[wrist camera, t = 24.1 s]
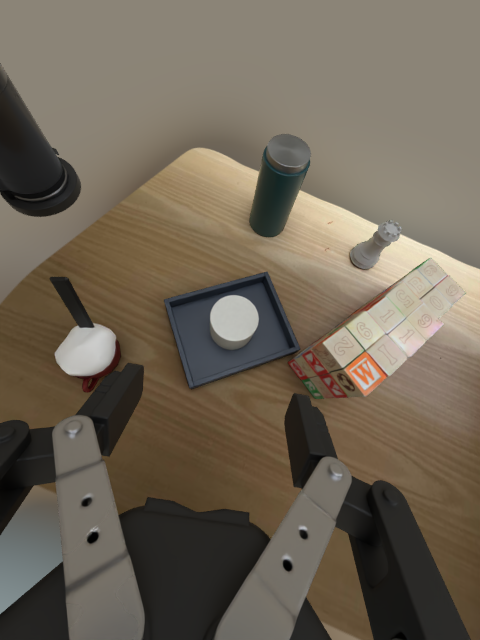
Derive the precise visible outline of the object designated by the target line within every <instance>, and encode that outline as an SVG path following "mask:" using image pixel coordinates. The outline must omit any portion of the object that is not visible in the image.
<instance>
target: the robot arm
mask: <svg viewBox="0 0 480 640" xmlns="http://www.w3.org/2000/svg"><path fill="white" fill-rule="evenodd" d="M56 154H57V155H59V154H58V152H57V150H56V149H54V148H52V147H51V146H50V144H49V143H48V141H47V139H46V138H45V136H44V134H43V133H42V131H41V129H40V128H39V126H38V124H37V123H36V121H35V119H34V118H33V116H32V115H31V113H30V111H29V110H28V108H27V106H26V105H25V103H24V101H23V100H22V98H21V96H20V95H19V93H18V91H17V90H16V88H15V87H14V85H13V83H12V81H11V80H10V78H9V77H8V75H7V73H6V72H5V70H4V68H3V67H2V65H1V63H0V190H1V191H2V192H3V193H4V194H5V195H6V196H7V197H8V198H9V199H10V200H14V199H18V200H20V201H23V202H27V203H41V202H46V201H49V200H52V199H54V198H56V197H57V196H59V195H60V194H61V193H62V192H63V191H64V190H65V188H66V187H67V184H68V180H69V178H68V173H67V171H66V170H65V168H64V166H63V165H62V164H61V162H60V160H59V159H58V157H57V156H56ZM143 375H144V366H143V365H138V364H132V363H128V364H127V365H126V366H125V367H124V369H123V370H122V371H121V372H119V371H114V372H112V373H111V374H109V375H108V376H106V377H105V378H104V380H103V381H102V382H101V383H100V385H99V386H98V387H97V388H96V390H95V392H93V393H92V395H91V396H90V397H89V398H88V400H87V401H86V402H85V404H84V405H83V406H82V407H81V409H80V410H79V411H78V412H77V414H76V415H75V416H71V417H68V418H66V419H64V420H62V421H61V422H59V423H58V424H57V425H56V426H54V427H48V428H38V429H29V426H28V424H27V423H26V422H24V421H20V420H11V421H6V422H3V423H0V535H1V533H2V532H3V530H4V529H5V527H6V526H7V524H8V523H9V521H10V520H11V518H12V517H13V515H14V514H15V513H16V511H17V510H18V508H19V507H20V505H21V504H22V502H23V501H24V499H25V497H26V496H27V495H28V493H29V492H30V490H31V489H32V487H33V486H34V485H40V484H46V483H52V482H56V490H57V501H58V511H59V522H60V533H61V544H62V555H63V562H62V563H60V564H59V565H58V566H57V567H56V568H54V569H53V570H52V571H51V572H50V573H49V574H47V575H46V576H45V577H44V578H43V579H42V580H40V581H39V582H38V583H37V584H36V585H34V586H33V587H32V588H31V589H30V590H28V591H27V592H26V593H25V594H24V595H22V596H21V597H20V598H19V599H18V600H17V601H16V602H14V603H13V604H12V605H11V606H10V607H8V608H7V609H6V610H5V611H4V612H2V613H1V614H0V640H332V639H331V638H330V636H329V634H328V633H327V631H326V630H325V628H324V626H323V625H322V623H321V621H320V620H319V618H318V616H317V615H316V613H315V611H314V610H313V608H312V606H311V605H310V603H309V601H308V600H307V598H306V595H307V592H308V590H309V588H310V585H311V583H312V580H313V578H314V576H315V573H316V571H317V568H318V566H319V564H320V561H321V559H322V556H323V554H324V552H325V549H326V547H327V544H328V542H329V540H330V537H331V535H332V532H333V530H334V528H335V527H337V528H339V529H341V530H343V531H345V532H347V533H348V535H349V539H350V543H351V547H352V551H353V556H354V560H355V564H356V568H357V572H358V576H359V580H360V584H361V588H362V593H363V597H364V601H365V605H366V609H367V613H368V617H369V621H370V626H371V630H372V634H373V638H374V640H471V639H470V637H469V635H468V633H467V631H466V628H465V626H464V624H463V622H462V620H461V618H460V615H459V613H458V611H457V609H456V607H455V605H454V602H453V600H452V598H451V596H450V594H449V592H448V589H447V587H446V585H445V583H444V581H443V579H442V576H441V574H440V572H439V570H438V568H437V566H436V564H435V561H434V559H433V557H432V555H431V553H430V551H429V548H428V546H427V544H426V542H425V540H424V538H423V535H422V533H421V531H420V529H419V527H418V525H417V522H416V520H415V518H414V516H413V514H412V512H411V509H410V507H409V505H408V503H407V501H406V499H405V497H404V496H403V495H402V493H401V492H400V491H399V490H398V489H397V488H396V487H394V486H393V485H391V484H390V483H388V482H385V481H381V480H380V481H376V482H374V483H373V485H372V486H371V485H369V484H367V483H365V482H363V481H361V480H358V479H356V478H355V477H353V476H351V474H350V471H349V470H348V468H347V467H346V466H345V465H344V464H343V463H342V462H341V461H339V460H338V458H337V455H336V452H335V449H334V446H333V443H332V440H331V437H330V434H329V433H328V428H327V426H326V422H325V419H324V416H323V414H322V413H321V412H320V410H319V409H318V408H317V407H313V406H312V405H311V401H310V398H309V396H307V395H302V394H296V393H294V394H293V396H292V398H291V401H290V404H289V406H288V409H287V412H286V415H285V422H284V424H285V432H286V439H287V445H288V452H289V458H290V465H291V472H292V478H293V485H294V487H298V488H302V491H300V493H299V494H298V496H297V498H296V499H295V501H294V502H293V504H292V506H291V507H290V509H289V511H288V512H287V514H286V516H285V517H284V519H283V520H282V522H281V524H280V525H279V527H278V529H277V530H276V532H275V533H274V535H273V537H272V538H271V539H270V538H269V537H268V536H267V535H266V534H265V532H264V531H262V530H261V529H260V528H259V527H257V526H256V525H254V524H253V523H251V522H249V513H248V512H242V511H235V510H229V509H220V510H213V511H206V512H195V511H193V510H191V509H189V508H187V507H185V506H182V505H180V504H178V503H176V502H174V501H169V500H163V499H156V498H150V497H148V498H147V500H146V503H145V506H141V507H137V508H133V509H130V510H128V511H126V512H124V513H122V514H120V515H118V512H117V508H116V504H115V500H114V496H113V492H112V488H111V484H110V480H109V476H108V472H107V468H106V465H105V461H104V460H102V457H101V455H103V456H110V454H111V453H112V451H113V449H114V447H115V445H116V443H117V441H118V440H119V438H120V436H121V434H122V432H123V430H124V428H125V426H126V425H127V423H128V421H129V419H130V417H131V415H132V413H133V412H134V410H135V408H136V406H137V404H138V402H139V400H140V398H141V395H142V391H143Z"/></svg>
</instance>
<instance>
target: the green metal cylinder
mask: <svg viewBox="0 0 480 640" xmlns="http://www.w3.org/2000/svg"><path fill="white" fill-rule="evenodd" d="M310 156H311V152H310V149H309V147H308V145H307V144H306V143H305V142H304V141H303V140H302V139H300V138H298V137H296V136H293V135H289V134H281V135H277V136H275V137H273V138H272V139H271V140H270V141H269V143H268V145H267V147H266V148H265V150H264V153H263V157H262V163H261V167H260V171H259V176H258V181H257V186H256V190H255V195H254V200H253V204H252V209H251V214H250V219H249V222H250V226H251V228H252V229H253V230H254V231H255V232H256V233H257V234H259V235H261V236H264V237H274V236H276V235H278V234H280V233H281V232H282V230H283V229H284V226H285V224H286V221H287V219H288V216H289V214H290V212H291V209H292V207H293V204H294V202H295V200H296V197H297V195H298V192H299V190H300V187H301V185H302V182H303V180H304V178H305V175H306V173H307V171H308V168H309V166H310Z"/></svg>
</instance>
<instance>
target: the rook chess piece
mask: <svg viewBox="0 0 480 640" xmlns="http://www.w3.org/2000/svg"><path fill="white" fill-rule="evenodd" d="M398 224H399V223H397V222H396V223H395V224H394V223H393V220H389V221H388V222H386V223H382V224H380V225H379V227H378V231H376V232H375V233H374V235H373V237H372V238H370V239H369V240H368V241H365V242H362V243H359V244H357V245H356V246H355V247H354V248H353V249H352V250H351V254H350V256H351V260H352V262H353V264H354V265H356V266H357V267H359V268H361V269H369V268H372V267H373V266H374V265H375V264H376V263H377V262H378V260H379V256H380V253H381V251H382V250H383V249H384V248H385V247H386V246H389V245H390V244H391V242H394V241H397V240H398V239H399V236H400V233H401V232H400V231H401V230H402V228H401V227H399V228H398V227H397V225H398Z"/></svg>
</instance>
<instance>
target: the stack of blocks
mask: <svg viewBox="0 0 480 640" xmlns="http://www.w3.org/2000/svg"><path fill="white" fill-rule="evenodd" d="M465 294H466V292H465V291H464V290H463V289H462V288H461V287H460V286H459V285H458V284H457V283H456V282H455V281H454V280H453V279H452V278H451V277H450V276H449V275H447V273H446V272H445V271H444V270H443V269H442V268H441V267H440V266H439V265H438V264H437V263H436V262H435V261H434V260H433V259H432V258H429V259H428V260H426V261H425V262H423V263H422V264H420V265H419V266H417V267H416V268H415V269H413V270H412V271H411V272H409V273H408V274H407V275H406V276H404V277H403V278H401V279H400V280H398V281H397V282H396V283H394V284H393V285H391V286H390V287H389V288H387V289H386V290H385V291H383V292H382V293H380V294H379V295H377V296H376V297H375V298H373V299H372V300H370V301H369V302H368V303H366V304H365V305H364V306H363V307H361V308H360V309H358V310H357V311H356V312H354V313H353V314H352V315H350V316H349V317H348V318H347V319H346V320H345V321H343V322H342V323H341V324H339V325H338V326H336V327H335V328H334V329H333V330H331V331H330V332H329V333H327V334H326V335H325V336H323V337H322V338H320V339H319V340H317V341H316V342H314V343H313V344H312V345H310V346H309V347H308V348H306V349H305V350H303V351H302V352H300V353H299V354H298V355H296V356H295V357H294V358H292V359H291V360H290V361H288V364H289V365H290V366H291V368H292V369H293V370H294V372H295V373H296V374H297V376H298V377H299V378H300V380H302V382H303V383H304V385H305V386H306V387H307V389H308V390H309V391H310V393H311V394H312V395H313V397H314V398H315V399H325V398H348V397H365V396H367V395H368V394H369V393H370V392H371V391H373V390H374V389H375V388H376V387H377V386H378V385H379V384H380V383H381V382H382V381H383V380H385V379H386V377H388V376H390V375H391V374H392V373H393V372H395V371H396V370H397V369H398V368H399V367H400V366H401V365H402V364H403V363H404V362H405V361H406V360H407V359H408V358H410V357H411V356H412V355H413V354H414V353H415V352H416V351H417V350H418V349H419V348H421V347H422V346H423V345H424V344H425V343H426V340H428V339H429V338H430V337H431V336H432V335H434V334H435V333H436V332H437V331H438V330H439V329H440V328H441V327H442V326H443V325H444V324H443V322H442V321H441V320H440V319H439V318H440V317H441V316H442V315H444V314H445V313H446V312H447V311H448V310H449V309H450V308H451V307H452V305H453V304H454V303H456V302H457V301H458V300H459V299H460V298H461V297H462V296H464V295H465Z"/></svg>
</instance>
